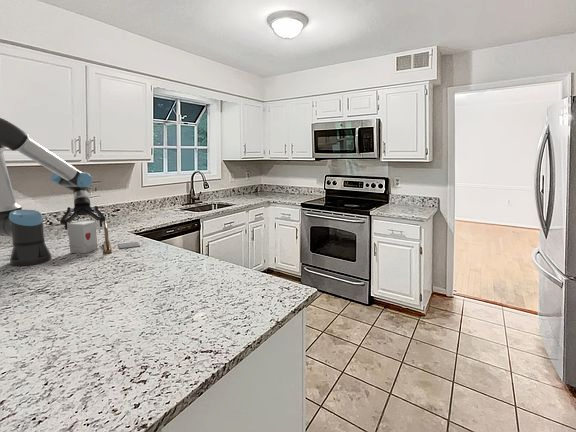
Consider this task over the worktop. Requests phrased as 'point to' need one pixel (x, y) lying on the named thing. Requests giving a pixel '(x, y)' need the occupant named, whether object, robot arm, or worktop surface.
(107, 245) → the cabinet door handle
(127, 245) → the mat
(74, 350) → the worktop surface
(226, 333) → the worktop surface
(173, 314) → the worktop surface
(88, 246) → the supplement box
